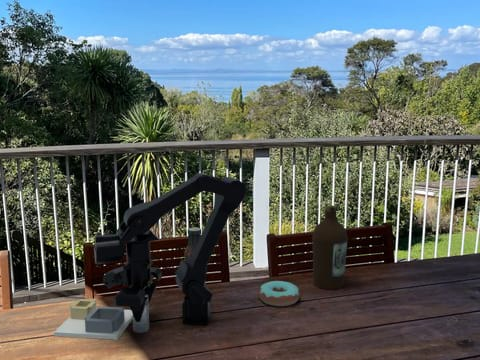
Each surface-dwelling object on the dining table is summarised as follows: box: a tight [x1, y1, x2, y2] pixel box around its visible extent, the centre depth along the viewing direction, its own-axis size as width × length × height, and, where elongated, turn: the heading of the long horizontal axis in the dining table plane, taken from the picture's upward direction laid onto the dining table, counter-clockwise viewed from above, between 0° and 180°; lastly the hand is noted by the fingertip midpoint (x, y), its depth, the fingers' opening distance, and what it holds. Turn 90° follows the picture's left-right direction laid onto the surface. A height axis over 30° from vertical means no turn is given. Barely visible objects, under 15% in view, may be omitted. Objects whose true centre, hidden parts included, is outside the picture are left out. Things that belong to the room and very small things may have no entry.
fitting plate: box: [53, 298, 133, 341], centre depth 121 cm, size 16×14×4 cm
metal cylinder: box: [132, 293, 150, 334], centre depth 118 cm, size 4×4×9 cm
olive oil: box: [311, 204, 348, 291], centre depth 145 cm, size 11×11×25 cm
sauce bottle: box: [183, 227, 202, 261], centre depth 138 cm, size 7×6×20 cm
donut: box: [258, 280, 301, 307], centre depth 136 cm, size 12×12×4 cm
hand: (140, 317), depth 118 cm, fingers closed on metal cylinder, 4 cm apart
